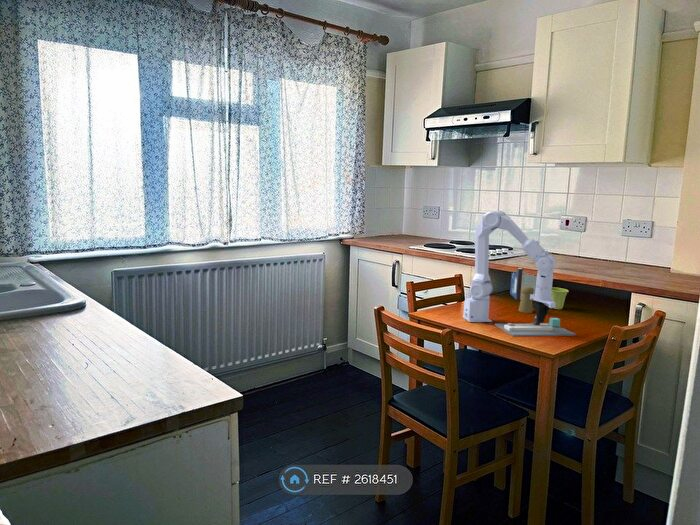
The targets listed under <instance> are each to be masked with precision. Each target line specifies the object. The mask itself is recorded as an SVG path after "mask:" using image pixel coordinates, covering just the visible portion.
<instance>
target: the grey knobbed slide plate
mask: <svg viewBox="0 0 700 525" xmlns="http://www.w3.org/2000/svg"><path fill="white" fill-rule="evenodd" d="M513 324H534V322H532V323H531V322H530V323H519V322H518V323H515V322H514V323H511V322H507V323H494V326H496V327H497V328H499V329H500V330H501V331H504V332H505V333H506V334H508V335H510V336H512V337H562V336H563V337H566V336H567V337H570V336H571V337H573V336H577V334H576V333H574V332H572V331H570V330H568V329H566V328H564V327H563V326H560V327H552V326H550V325H549V322H545V323H544V322H543V323H540V324H548V325H549V326H513Z"/></svg>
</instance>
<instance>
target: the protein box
mask: <svg viewBox="0 0 700 525" xmlns="http://www.w3.org/2000/svg"><path fill="white" fill-rule="evenodd" d="M523 273H525V272H524V269H522V268H518V270H517V273H514V272H513V273H512V272H511V278H510V290H509V293H510V295H511V296H512V297H513V298H514V300H516V301H521V297H522V292H521V289H522V287H524V286H529V287H532V288H533V289H534V292H533V294H535V289H536V278H537V276H534V275H529V274H523ZM532 302H536V301H535V300H532Z"/></svg>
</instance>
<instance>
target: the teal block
mask: <svg viewBox="0 0 700 525" xmlns="http://www.w3.org/2000/svg"><path fill="white" fill-rule="evenodd" d="M548 323H549V325H550V326H552V327H561V318H558V317H550V318H549V322H548Z"/></svg>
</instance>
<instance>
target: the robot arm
mask: <svg viewBox="0 0 700 525" xmlns="http://www.w3.org/2000/svg"><path fill="white" fill-rule="evenodd" d="M481 216H482V217H481V220H480V221H479V223H478V224H477V227H475V234H474V235H475V236H474V237H475V238H474V240H475V241H474V244H475V247H474V249H475V250H474V275H473V277H472V279H471V285H470V287H469V294H470V295H471V297H466V298H465V299H464V302H463V312H462V318H463V319H465V320H466V321H468V322H469V323H486V322H487V323H491V322H493V320H491V319H490V318H489V312H490V311H489V310H490V302H491V301H490V300H491V297H490V294H492V291H493V284H492V282H491V277H490V274H489V269H490V268H489V258H490V256H489V254H490V252H489V251H490V235H491V234H492V233H493V232H494V231H495V230H497V229H500V230H504V231H507V232H508V233H509V234H510V235H511V236H512V237H514V239H515V240H517V241H518V242H519V243H520V244H521V245H522V246H521V247H522V251H523V252H524V253H525V254H526V255H527V256H528V257H529V259H531V260H532V261H533V262H534V263H535V267H537V268H538V271H537V278H536V289H535V294H530V299H531V300H535V301H534V302H532V306H533V308H534V311H535V315H536V317H537V322H538V323H544V322H545V320H546V316H547V314H548V312H549V311H550V309H554V308H555V305H556V303H555V302H553V299H552V298H551V292H552V287H553V281H554V268H555V266H556V264H557V260H556V258H555V257H554V255H553V254H552V253H549V251H548V250H545V249H544V248H543V247H542V245H541V244H540V243H541V242H540V241H539V240H535V239H534V238H532V239H531V238H529V237H528V235H526V233H525V232H524V231H523V230H522V229H521V228H520V227H519V226H518V224H517V223H516V222H515V221H514V220H513V219H512V218H511V217H510V216H509V215H507V214H506V212H504V211H503V210H489V211H487V212H486V213H485V214H483V215H481Z"/></svg>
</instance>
